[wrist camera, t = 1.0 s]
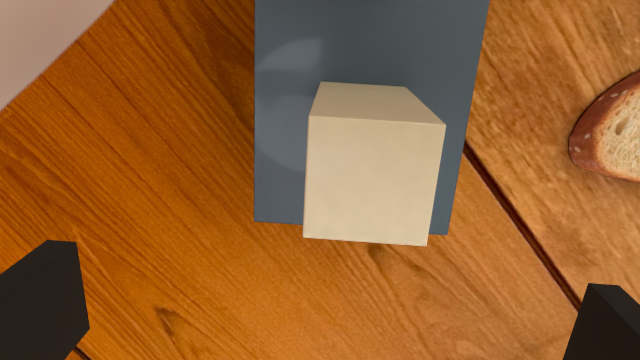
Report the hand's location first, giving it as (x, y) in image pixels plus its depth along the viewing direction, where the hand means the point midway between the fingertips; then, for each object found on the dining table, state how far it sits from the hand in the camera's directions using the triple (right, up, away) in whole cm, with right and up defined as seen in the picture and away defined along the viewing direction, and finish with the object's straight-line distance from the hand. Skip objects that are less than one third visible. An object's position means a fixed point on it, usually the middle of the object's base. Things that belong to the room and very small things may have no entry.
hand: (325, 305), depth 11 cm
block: (+2, +7, +14) cm, 16 cm away
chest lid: (+2, +9, +14) cm, 17 cm away
